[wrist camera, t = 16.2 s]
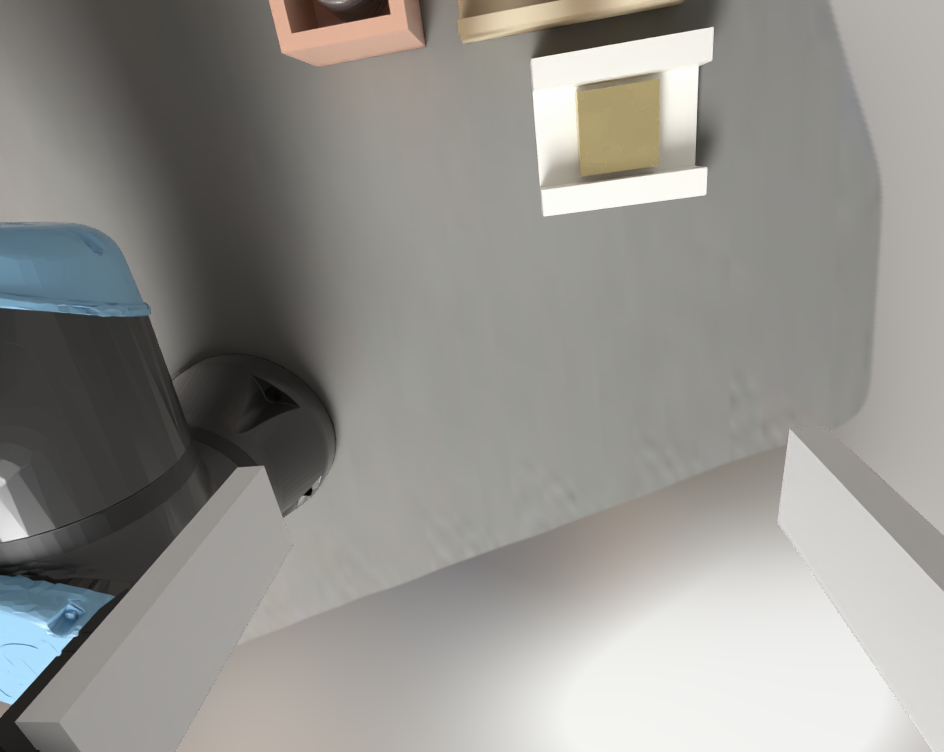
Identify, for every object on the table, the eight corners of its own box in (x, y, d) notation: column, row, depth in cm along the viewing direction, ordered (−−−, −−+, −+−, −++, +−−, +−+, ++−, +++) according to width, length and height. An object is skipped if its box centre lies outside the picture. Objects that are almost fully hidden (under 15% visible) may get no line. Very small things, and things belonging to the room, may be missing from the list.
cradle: (542, 212, 35) (543, 218, 33) (530, 64, 32) (531, 56, 29) (691, 192, 34) (706, 196, 31) (696, 35, 30) (713, 24, 28)
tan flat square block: (579, 175, 34) (581, 176, 32) (575, 94, 32) (577, 92, 31) (654, 165, 33) (658, 165, 32) (654, 80, 31) (659, 78, 30)
